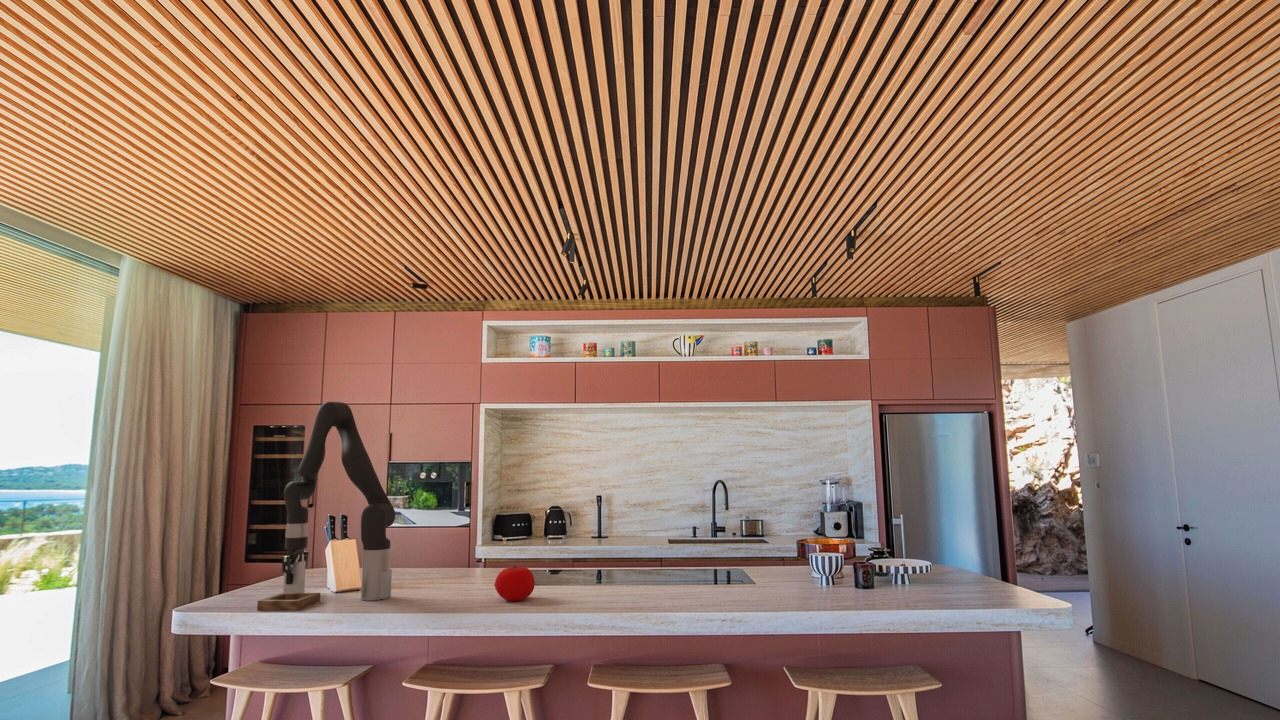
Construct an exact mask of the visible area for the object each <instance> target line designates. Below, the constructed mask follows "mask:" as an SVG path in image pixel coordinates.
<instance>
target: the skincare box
mask: <svg viewBox="0 0 1280 720" xmlns="http://www.w3.org/2000/svg"><path fill="white" fill-rule="evenodd" d="M291 565H293V564H291ZM285 568H286V566H285ZM291 568H292V567H291ZM306 569H307V568H306V561H299V562H297V566H296V567H295V568H294V572H293V584H286V573H283V587H282V588H283V591H282V593H305V587H306V582H305V581H306Z"/></svg>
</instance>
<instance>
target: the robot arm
mask: <svg viewBox="0 0 1280 720" xmlns="http://www.w3.org/2000/svg"><path fill="white" fill-rule="evenodd" d="M332 427H335V428H336V430H337V432H338V435H339V437H340V439H341V456H340V457H341V458H340V459H341V463H342V466H343V469H344V470H345V472H346V475H347V477H348V478H349V480H350V481H351V482H352V484H353V485H354V486H355V487H356V488H357V489H358V490H359V491H360V492H361V493H362V494H363V496H364V497H365V500H366V501H367V504H368V505H367V506H365V508H364V509H363V510H362V513H361V519H360V537H361V538H360V540H361V541H360V542H361V543H362V563H361V564H362V568H361V569H362V570H361V586H360V587H361V592H360V600H362V601H380V600H379V599H384V600H385V598H386V599H388V598H390V597H391V596H392V578H393V577H392V575H393V572H392V569H391V568H390V567H391V543H392V542H391V540H390V539H389V538H387V536H386V528H389V527H391V526H392V525H393V524H394V522H395V520H396V512H395V507H394V506H393V504H392V503H391V500H390V499H389V497H388V496H387V494H386V492H385V490H384V488H383V487H382V484H381V481H380V479H379V476H378V475H377V473H376V471H375V468H374V465H373V462H372V460H371V458H370V456H369V454H368V452H367V449H366V448H365V445H364V443H363V439H362V438H361V436H360V433H359V429H358V427H357V424H356V421H355V416H354V413H353V412H352V409H351V407H350V406H349V405H348V404H347V403H345V402H341V401H325V402H324V403H322V404H321V405H320V406H319V408H318V410H317V412H316V415H315V420H314V424H313V427H312V431H311V435H310V439H309V442H308V444H307V448H306V450H305V453H304V455H303V458H302V460H301V461H300V464H299V466H298V469H297V473H298V475H299V476H300V477H301V480H298V481H296V480H295V481H290V482H288V483H287V484H286V485H285V487H284V489H283V499H284V504H285V508H286V511H287V519H286V529H285V539H284V549H285V550H287V555H283V556H282V557H281V565H282V566H281V567H282V569H281V570H282V573H283V574H284V573H286V584H293V572H294V568H295V567H296V566H297V562H299V561H306V568H305V569H307V567H308V563H309V554H310V552H309V551H305V549H307V548H308V539H309V525H308V524H309V509H308V507H306V506H303V505H302V501H305V500H308V499H310V498H311V497H312V496H313V495H314V493H315V491H316V488H317V487H316V486H317V482H318V480H317V479H318V474H319V472H320V470H321V468H322V465H323V463H324V460H325V459H326V458H325V457H326V441H327V437H328V434H329V432H330V431H331V429H332ZM291 564H293V565H291ZM285 566H286V568H285ZM291 567H292V568H291ZM389 596H390V597H389ZM387 597H388V598H387Z"/></svg>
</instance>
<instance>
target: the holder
mask: <svg viewBox="0 0 1280 720" xmlns="http://www.w3.org/2000/svg"><path fill="white" fill-rule="evenodd" d="M317 602H318V603H320V602H321V592H304V593H283V592H280V593H277V594H273V595H272V596H271V595H270V596H268V597H266V598H262V599H259V600H257V607H256V610H257V609H258V610H257V611H282V612H283V611H284V612H285V611H289V612H290V611H295V612H296V611H298V612H299V611H300V610H303V609H305V608H308V607H310V605H311V606H313V605H315V603H316V604H317Z"/></svg>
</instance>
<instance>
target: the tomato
mask: <svg viewBox="0 0 1280 720" xmlns="http://www.w3.org/2000/svg"><path fill="white" fill-rule="evenodd" d="M535 582H536V581H535V576H534V574H533V572H532V571H531V570H530V568H528V567H525V566H522V565H521V566H518V565H516V564H514V565H513V566H509V567H506V568H503V569H502V570H501V571H500V572H499V573H498V574H497V576H496V579H495V582H494V589H495V590H496V592H497V594H498V596H499V597H500V598H502V599H504V600H506V601H509V602H516V601H523V600H524V599H527V598H528V597H529V596H531V594H533V591H534V589H535Z"/></svg>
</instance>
